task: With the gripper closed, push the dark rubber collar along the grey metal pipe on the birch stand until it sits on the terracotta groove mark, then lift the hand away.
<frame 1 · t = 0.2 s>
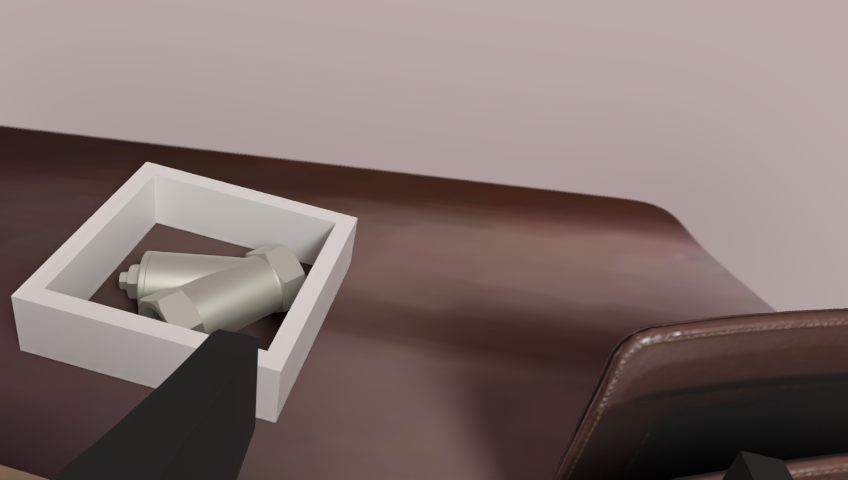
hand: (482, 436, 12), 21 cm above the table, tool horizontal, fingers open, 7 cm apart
pipe fitting: (206, 313, 44), on the table
parts frame: (203, 302, 43), on the table
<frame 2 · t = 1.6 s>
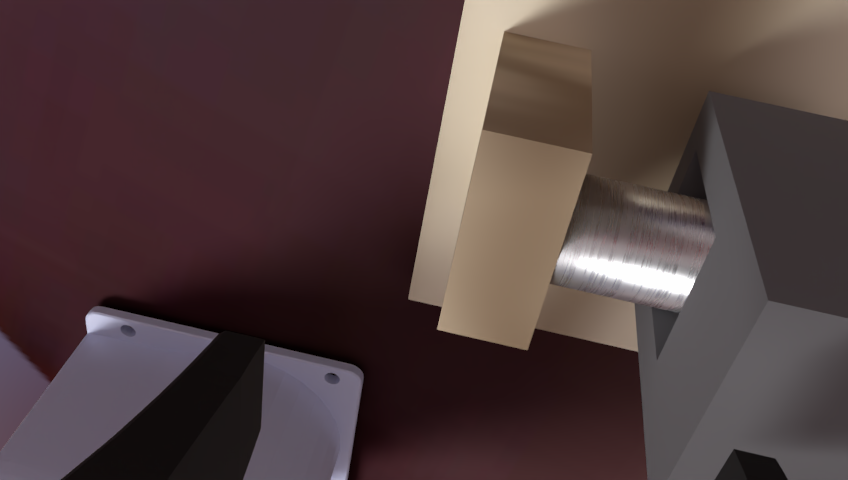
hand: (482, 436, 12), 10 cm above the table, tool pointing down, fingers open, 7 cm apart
collar: (757, 302, 16), point 6 cm above the table, slide at 0.0 cm
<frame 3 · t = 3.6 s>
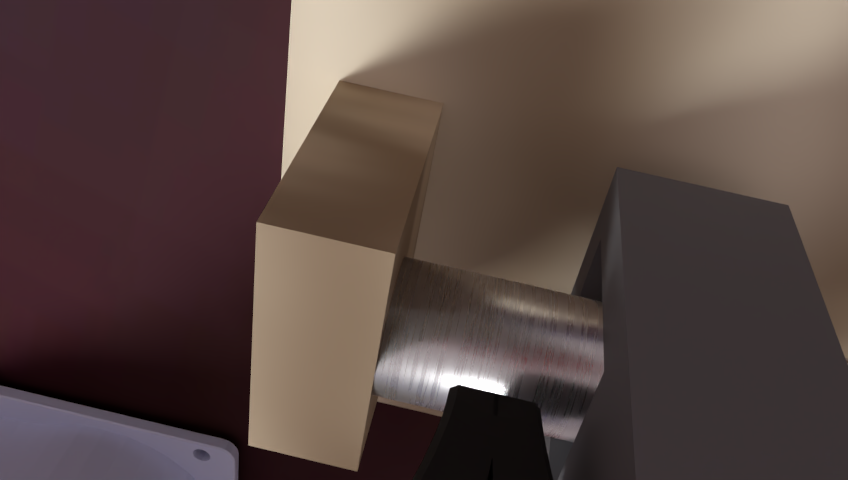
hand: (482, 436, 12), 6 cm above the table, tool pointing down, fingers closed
pipe stand: (798, 268, 17), on the table
collar: (667, 437, 13), point 6 cm above the table, slide at 0.7 cm, touching gripper
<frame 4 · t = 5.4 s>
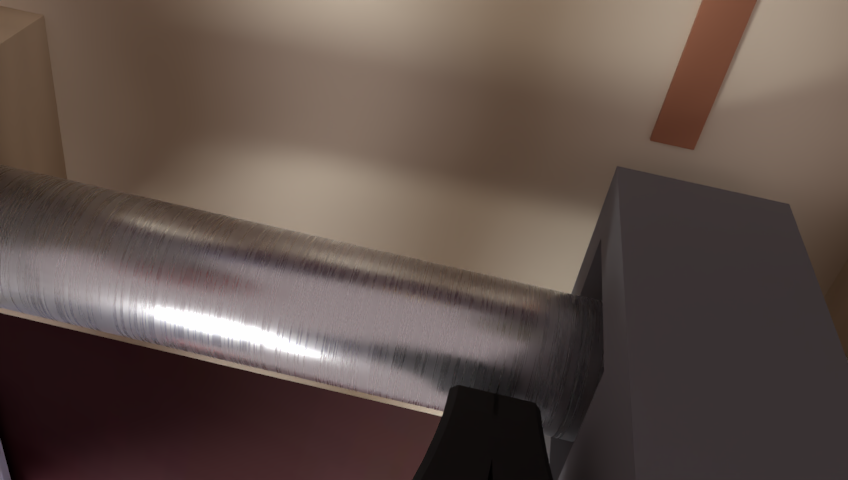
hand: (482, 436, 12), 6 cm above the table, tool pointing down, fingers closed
pipe: (402, 328, 14), point 4 cm above the table
pipe stand: (441, 187, 17), on the table
collar: (667, 437, 13), point 6 cm above the table, slide at 8.5 cm, touching gripper
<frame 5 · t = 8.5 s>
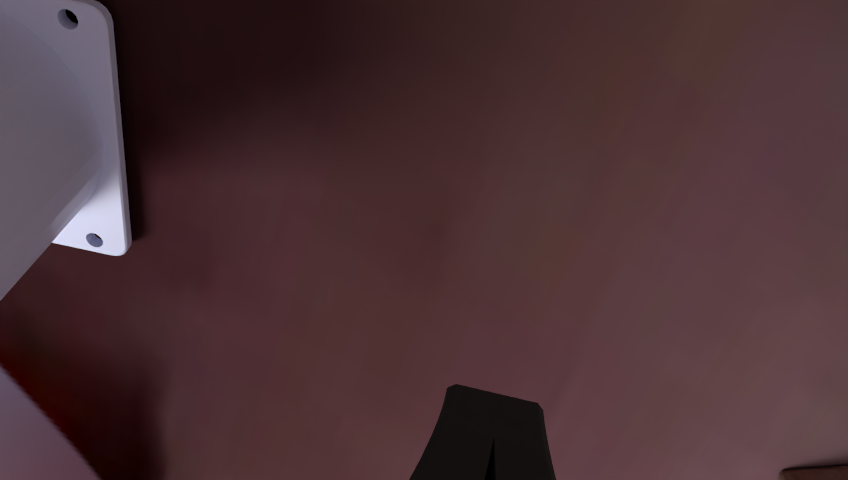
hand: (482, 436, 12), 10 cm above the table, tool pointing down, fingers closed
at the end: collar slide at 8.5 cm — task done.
